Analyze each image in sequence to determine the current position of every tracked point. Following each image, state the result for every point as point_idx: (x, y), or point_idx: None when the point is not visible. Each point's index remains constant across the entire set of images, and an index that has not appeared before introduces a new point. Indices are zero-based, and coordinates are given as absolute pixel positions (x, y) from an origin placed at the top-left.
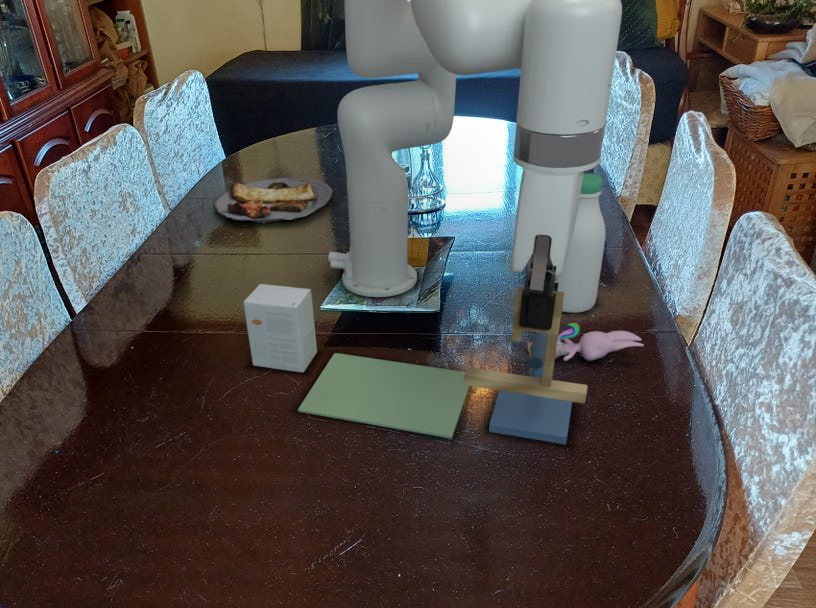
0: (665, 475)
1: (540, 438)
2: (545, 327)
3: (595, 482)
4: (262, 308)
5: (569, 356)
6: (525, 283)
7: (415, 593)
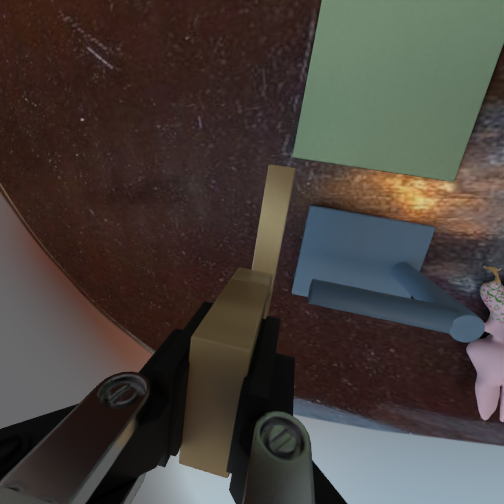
0: None
1: (297, 264)
2: None
3: None
4: None
5: None
6: (65, 419)
7: (68, 138)
